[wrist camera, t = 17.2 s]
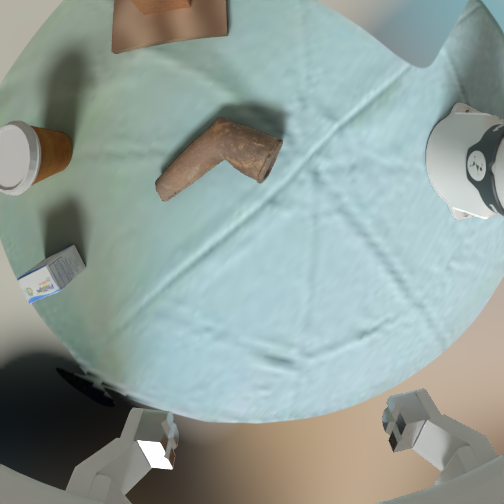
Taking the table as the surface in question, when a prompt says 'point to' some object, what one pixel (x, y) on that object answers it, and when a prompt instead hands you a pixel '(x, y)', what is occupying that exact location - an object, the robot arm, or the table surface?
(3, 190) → the disposable coffee cup
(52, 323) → the table surface
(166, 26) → the wavy brown square sheet
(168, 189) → the pipe
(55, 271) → the medicine box
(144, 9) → the tan hollow cube
